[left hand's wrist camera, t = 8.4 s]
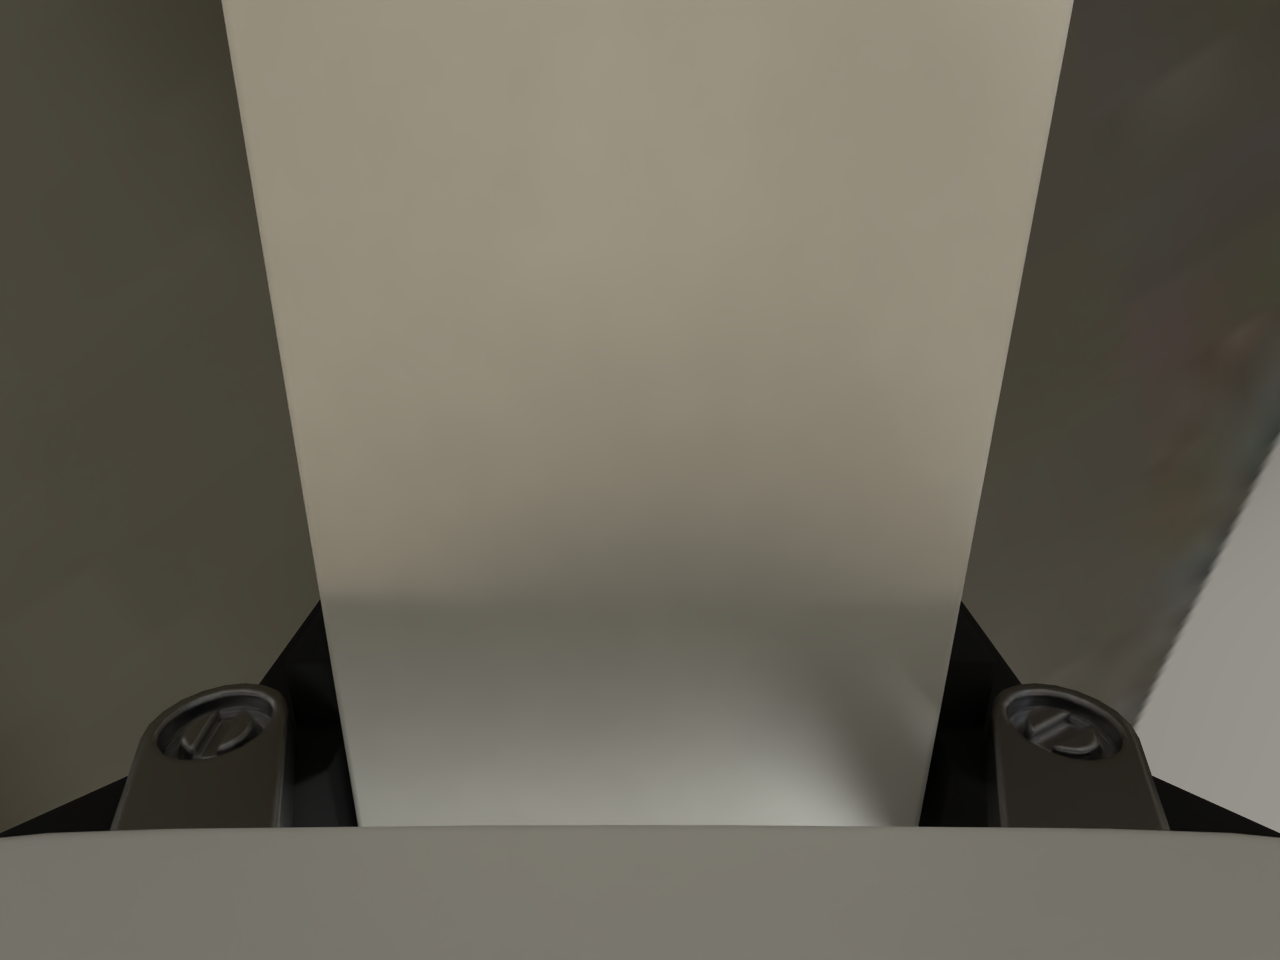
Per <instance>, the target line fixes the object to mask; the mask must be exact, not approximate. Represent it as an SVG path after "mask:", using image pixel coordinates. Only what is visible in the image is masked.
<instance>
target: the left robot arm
mask: <svg viewBox="0 0 1280 960" xmlns="http://www.w3.org/2000/svg"><path fill="white" fill-rule="evenodd" d="M0 960H1280V833H1278V832H1276V831H1274V830H1271V829H1269V828H1267V827H1265V826H1263V825H1260V824H1258V823H1256V822H1254V821H1251V820H1249V819H1247V818H1245V817H1243V816H1240V815H1238V814H1236V813H1234V812H1231V811H1229V810H1227V809H1225V808H1223V807H1220V806H1218V805H1216V804H1214V803H1211V802H1209V801H1207V800H1205V799H1203V798H1200V797H1198V796H1196V795H1194V794H1191V793H1189V792H1187V791H1185V790H1183V789H1180V788H1178V787H1176V786H1174V785H1171V784H1169V783H1167V782H1165V781H1163V780H1160V779H1158V778H1156V777H1154V776H1152V775H1151V772H1150V769H1149V766H1148V763H1147V760H1146V757H1145V754H1144V751H1143V748H1142V745H1141V742H1140V739H1139V737H1138V736H1137V734H1136V732H1135V731H1134V729H1133V727H1132V726H1131V724H1130V723H1129V722H1128V721H1126V720H1125V719H1124V718H1123V717H1122V716H1121V715H1120V714H1119V713H1118V712H1117V711H1115V710H1114V709H1112V708H1110V707H1109V706H1107V705H1105V704H1104V703H1102V702H1101V701H1099V700H1097V699H1095V698H1092V697H1090V696H1088V695H1085V694H1083V693H1080V692H1078V691H1075V690H1071V689H1067V688H1063V687H1059V686H1056V685H1046V684H1036V683H1033V684H1021V683H1020V681H1019V680H1018V679H1017V677H1016V676H1015V675H1014V673H1013V672H1012V670H1011V669H1010V668H1009V666H1008V665H1007V663H1006V662H1005V661H1004V659H1003V658H1002V657H1001V655H1000V654H999V652H998V651H997V650H996V648H995V647H994V645H993V644H992V643H991V641H990V640H989V639H988V637H987V636H986V634H985V633H984V632H983V630H982V629H981V627H980V626H979V625H978V623H977V622H976V621H975V619H974V618H973V616H972V615H971V614H970V612H969V611H968V609H967V608H966V607H965V605H964V604H963V603H962V601H961V602H960V608H959V613H958V618H957V624H956V629H955V634H954V640H953V645H952V650H951V656H950V661H949V666H948V672H947V677H946V682H945V688H944V693H943V698H942V703H941V709H940V714H939V719H938V725H937V730H936V735H935V741H934V746H933V751H932V757H931V762H930V767H929V773H928V778H927V783H926V789H925V794H924V799H923V805H922V810H921V815H920V821H919V826H918V827H883V826H772V825H474V826H386V827H358V823H357V817H356V811H355V805H354V799H353V793H352V787H351V781H350V775H349V768H348V762H347V756H346V750H345V744H344V738H343V732H342V726H341V720H340V714H339V708H338V702H337V696H336V690H335V684H334V678H333V672H332V666H331V660H330V654H329V648H328V642H327V635H326V629H325V623H324V617H323V611H322V605H321V599H320V601H319V602H318V603H317V605H316V606H315V608H314V609H313V610H312V612H311V613H310V614H309V616H308V617H307V619H306V620H305V621H304V623H303V624H302V626H301V627H300V628H299V630H298V631H297V632H296V634H295V635H294V637H293V638H292V639H291V641H290V642H289V644H288V645H287V646H286V648H285V649H284V650H283V652H282V653H281V655H280V656H279V657H278V659H277V660H276V662H275V663H274V664H273V666H272V667H271V668H270V670H269V671H268V673H267V674H266V675H265V677H264V678H263V680H262V681H261V682H260V684H247V683H244V684H234V685H224V686H221V687H217V688H213V689H209V690H205V691H202V692H200V693H197V694H195V695H192V696H190V697H188V698H185V699H183V700H181V701H179V702H178V703H176V704H175V705H173V706H171V707H170V708H168V709H166V710H165V711H163V712H162V713H161V714H160V715H159V716H158V717H157V718H156V719H155V720H154V721H152V722H151V723H150V724H149V726H148V727H147V729H146V731H145V732H144V734H143V736H142V737H141V739H140V742H139V745H138V748H137V751H136V754H135V757H134V760H133V763H132V766H131V769H130V772H129V775H128V776H127V777H125V778H122V779H120V780H118V781H116V782H113V783H111V784H109V785H107V786H105V787H102V788H100V789H98V790H96V791H93V792H91V793H89V794H87V795H85V796H82V797H80V798H78V799H76V800H73V801H71V802H69V803H67V804H65V805H62V806H60V807H58V808H56V809H53V810H51V811H49V812H47V813H45V814H42V815H40V816H38V817H36V818H33V819H31V820H29V821H27V822H25V823H22V824H20V825H18V826H16V827H13V828H11V829H9V830H7V831H5V832H2V833H0Z"/></svg>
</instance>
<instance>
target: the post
mask: <svg viewBox="0 0 1280 960" xmlns="http://www.w3.org/2000/svg"><path fill="white" fill-rule="evenodd" d="M221 1H222V7H223V13H224V19H225V25H226V31H227V37H228V43H229V49H230V55H231V61H232V67H233V73H234V79H235V85H236V91H237V97H238V104H239V110H240V116H241V122H242V128H243V134H244V140H245V146H246V152H247V158H248V164H249V170H250V176H251V182H252V188H253V194H254V200H255V206H256V212H257V218H258V224H259V230H260V237H261V243H262V249H263V255H264V261H265V267H266V273H267V279H268V285H269V291H270V297H271V303H272V309H273V315H274V321H275V327H276V333H277V339H278V345H279V351H280V357H281V363H282V370H283V376H284V382H285V388H286V394H287V400H288V406H289V412H290V418H291V424H292V430H293V436H294V442H295V448H296V454H297V460H298V466H299V472H300V478H301V484H302V490H303V496H304V503H305V509H306V515H307V521H308V527H309V533H310V539H311V545H312V551H313V557H314V563H315V569H316V575H317V581H318V587H319V593H320V599H321V605H322V611H323V617H324V623H325V629H326V635H327V642H328V648H329V654H330V660H331V666H332V672H333V678H334V684H335V690H336V696H337V702H338V708H339V714H340V720H341V726H342V732H343V738H344V744H345V750H346V756H347V762H348V768H349V775H350V781H351V787H352V793H353V799H354V805H355V811H356V817H357V823H358V827H386V826H474V825H772V826H883V827H918V826H919V821H920V815H921V810H922V805H923V799H924V794H925V789H926V783H927V778H928V773H929V767H930V762H931V757H932V751H933V746H934V741H935V735H936V730H937V725H938V719H939V714H940V709H941V703H942V698H943V693H944V688H945V682H946V677H947V672H948V666H949V661H950V656H951V650H952V645H953V640H954V634H955V629H956V624H957V618H958V613H959V608H960V602H961V597H962V592H963V586H964V581H965V576H966V570H967V565H968V560H969V555H970V549H971V544H972V539H973V533H974V528H975V523H976V517H977V512H978V507H979V501H980V496H981V491H982V485H983V480H984V475H985V469H986V464H987V459H988V453H989V448H990V443H991V437H992V432H993V427H994V422H995V416H996V411H997V406H998V400H999V395H1000V390H1001V384H1002V379H1003V374H1004V368H1005V363H1006V358H1007V352H1008V347H1009V342H1010V336H1011V331H1012V326H1013V320H1014V315H1015V310H1016V304H1017V299H1018V294H1019V289H1020V283H1021V278H1022V273H1023V267H1024V262H1025V257H1026V251H1027V246H1028V241H1029V235H1030V230H1031V225H1032V219H1033V214H1034V209H1035V203H1036V198H1037V193H1038V187H1039V182H1040V177H1041V171H1042V166H1043V161H1044V156H1045V150H1046V145H1047V140H1048V134H1049V129H1050V124H1051V118H1052V113H1053V108H1054V102H1055V97H1056V92H1057V86H1058V81H1059V76H1060V70H1061V65H1062V60H1063V54H1064V49H1065V44H1066V38H1067V33H1068V28H1069V23H1070V17H1071V12H1072V7H1073V1H1074V0H221Z"/></svg>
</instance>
